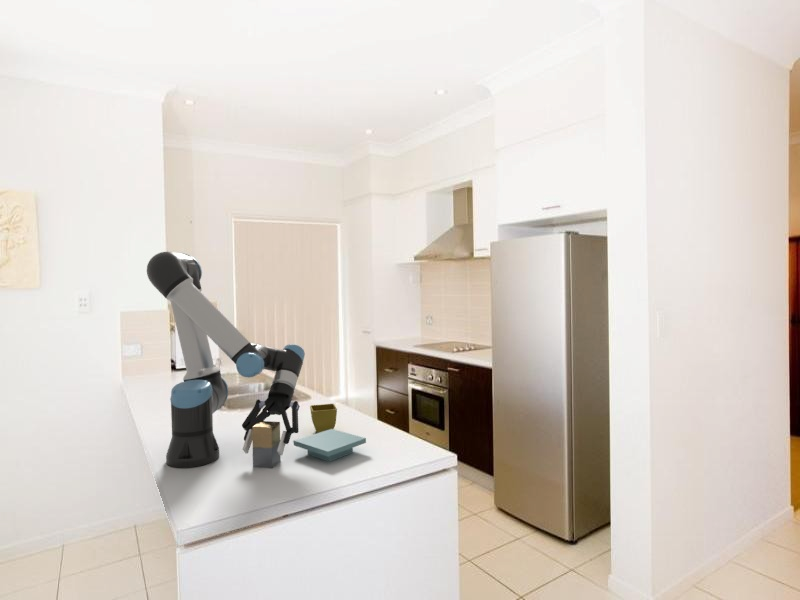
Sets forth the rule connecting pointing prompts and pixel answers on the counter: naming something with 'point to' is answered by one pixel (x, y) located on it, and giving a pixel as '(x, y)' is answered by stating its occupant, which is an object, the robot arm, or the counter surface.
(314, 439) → the teal stand
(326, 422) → the flower pot
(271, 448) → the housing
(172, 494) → the counter surface
